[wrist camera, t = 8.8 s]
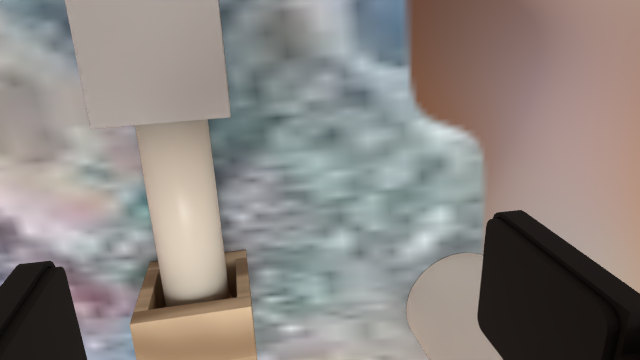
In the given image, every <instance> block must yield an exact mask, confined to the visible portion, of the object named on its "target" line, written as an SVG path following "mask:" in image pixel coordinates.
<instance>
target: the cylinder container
mask: <svg viewBox="0 0 640 360" xmlns="http://www.w3.org/2000/svg"><path fill="white" fill-rule="evenodd" d="M482 264H483V255H480V254H475V253H460V254H455V255H451V256H448V257H445V258H443V259H441V260H439V261H437V262H436V263H434V264H433V265H431V266H430V267H429V268H428V269H426V270H425V271H424V272H423V273H422V274H421V275H420V277H419V278H418V279H417V281H416V282H415V284H414V285H413V287H412V289H411V291H410V294H409V297H408V300H407V307H406V314H407V321H408V324H409V327H410V329H411V331H412V332H413V334H414V335H415V337H416V339H417V340H418V342H419V343H420V345H421V347H422V348H423V350H424V351H425V353H426V355H427V356H428V358H429V359H430V360H503V359H502V357H501V356H500V355H499V353H498V352H497V351H496V349H495V348H494V347H493V346H492V344H491V343H490V342H489V340H488V339H487V338H486V336H485V335H484V334H483V333H482V331H481V329H480V327H479V324H478V319H477V313H478V303H479V293H480V283H481V274H482Z"/></svg>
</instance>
